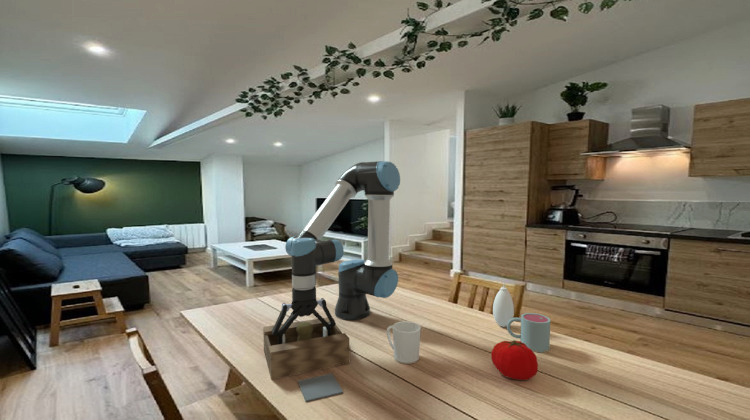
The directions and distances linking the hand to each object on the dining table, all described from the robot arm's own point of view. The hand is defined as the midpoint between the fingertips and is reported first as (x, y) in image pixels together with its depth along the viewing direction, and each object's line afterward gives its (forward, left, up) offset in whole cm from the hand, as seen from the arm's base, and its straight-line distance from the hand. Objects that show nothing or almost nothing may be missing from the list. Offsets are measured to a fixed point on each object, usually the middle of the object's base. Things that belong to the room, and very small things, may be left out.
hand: (304, 351), depth 114 cm
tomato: (-54, +35, -2) cm, 64 cm away
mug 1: (-29, +13, -2) cm, 32 cm away
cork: (0, 0, -2) cm, 2 cm away
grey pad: (0, +19, -2) cm, 19 cm away
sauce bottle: (-77, +6, -2) cm, 77 cm away
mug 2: (-73, +22, -2) cm, 76 cm away
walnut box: (0, 0, -2) cm, 2 cm away
